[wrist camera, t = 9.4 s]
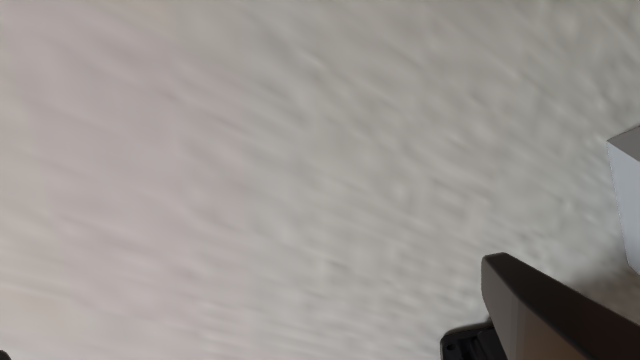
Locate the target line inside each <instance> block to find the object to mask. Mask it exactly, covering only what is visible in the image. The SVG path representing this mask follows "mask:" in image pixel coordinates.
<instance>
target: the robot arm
mask: <svg viewBox="0 0 640 360" xmlns="http://www.w3.org/2000/svg"><path fill="white" fill-rule="evenodd" d="M481 289H482V296H483V300H484V302H485V305H486V307H487V310H488V312H489V315H490V317H491V320H492V322H493V324H494V326H493V327H488V328H483V329H478V330H472V331H467V332H462V333H457V334H452V335H447V336H445V337H443V338H442V339H441V341H440V354H441V360H640V325H638V324H636V323H634V322H632V321H630V320H629V319H627V318H625V317H623V316H621V315H619V314H617V313H616V312H614V311H612V310H610V309H608V308H606V307H605V306H603V305H601V304H599V303H597V302H595V301H594V300H592V299H590V298H588V297H586V296H584V295H583V294H581V293H579V292H577V291H575V290H573V289H572V288H570V287H568V286H566V285H564V284H562V283H561V282H559V281H557V280H555V279H553V278H551V277H550V276H548V275H546V274H544V273H542V272H540V271H539V270H537V269H535V268H533V267H531V266H529V265H528V264H526V263H524V262H522V261H520V260H518V259H517V258H515V257H513V256H511V255H509V254H507V253H504V252H501V253H496V254H491V255H486V256H484V257H483V258H482V262H481ZM449 344H450V345H449ZM0 360H11V358H10V357H9V355H8V354H7V353H6V352H4V351H3V350H0Z"/></svg>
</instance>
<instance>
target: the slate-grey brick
mask: <svg viewBox="0 0 640 360" xmlns="http://www.w3.org/2000/svg"><path fill="white" fill-rule="evenodd" d="M606 142H607V148H608V154H609V159H610V165H611V171H612V176H613V182H614V188H615V193H616V199H617V204H618V210H619V216H620V221H621V227H622V233H623V238H624V244H625V250H626V255H627V261H628V265H629V266H630V267H631V268H632V269H634V270H635V271H636V272H637V273H638V274H639V275H640V126H639V127H637V128H635V129H632V130H630V131H628V132H625V133H623V134H621V135H618V136H616V137H614V138H611V139H609V140H607V141H606Z"/></svg>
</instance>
